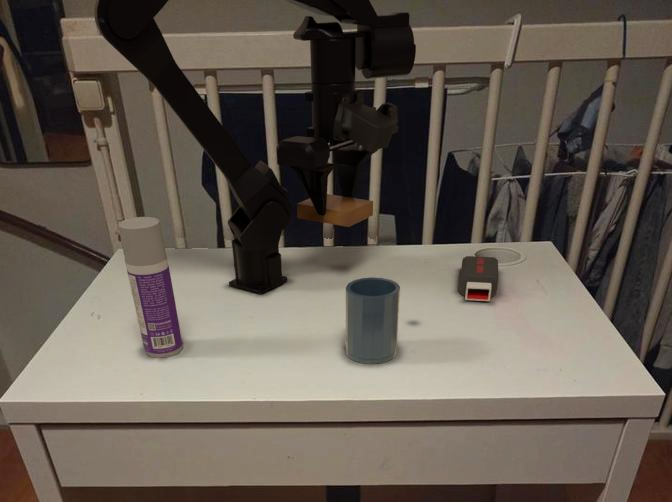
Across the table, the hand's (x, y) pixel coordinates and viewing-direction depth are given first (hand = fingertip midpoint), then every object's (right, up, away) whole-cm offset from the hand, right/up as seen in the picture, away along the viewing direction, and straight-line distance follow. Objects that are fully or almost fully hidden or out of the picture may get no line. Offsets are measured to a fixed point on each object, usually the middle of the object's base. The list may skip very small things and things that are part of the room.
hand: (334, 209), depth 90 cm
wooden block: (0, -1, +1) cm, 1 cm away
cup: (+4, -24, -16) cm, 29 cm away
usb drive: (+21, -11, 0) cm, 24 cm away
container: (-22, -23, -13) cm, 34 cm away
